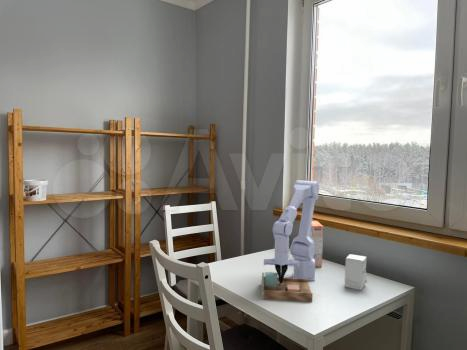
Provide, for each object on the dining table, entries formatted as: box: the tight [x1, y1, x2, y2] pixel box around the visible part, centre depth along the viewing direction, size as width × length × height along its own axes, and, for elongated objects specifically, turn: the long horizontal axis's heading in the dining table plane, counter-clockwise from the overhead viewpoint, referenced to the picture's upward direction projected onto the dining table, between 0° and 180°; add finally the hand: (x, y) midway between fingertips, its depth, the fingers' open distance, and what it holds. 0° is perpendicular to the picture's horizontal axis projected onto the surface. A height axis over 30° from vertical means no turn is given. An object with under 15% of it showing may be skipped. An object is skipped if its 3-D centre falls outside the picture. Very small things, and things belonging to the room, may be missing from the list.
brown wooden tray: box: [260, 272, 314, 303], centre depth 143 cm, size 20×15×5 cm
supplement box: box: [343, 253, 367, 291], centre depth 150 cm, size 7×7×13 cm
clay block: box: [287, 285, 300, 292], centre depth 139 cm, size 4×4×4 cm
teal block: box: [264, 271, 279, 286], centre depth 146 cm, size 5×5×4 cm
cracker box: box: [305, 220, 324, 268], centre depth 180 cm, size 14×6×21 cm, turn 179°
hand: (280, 282), depth 146 cm, fingers closed
